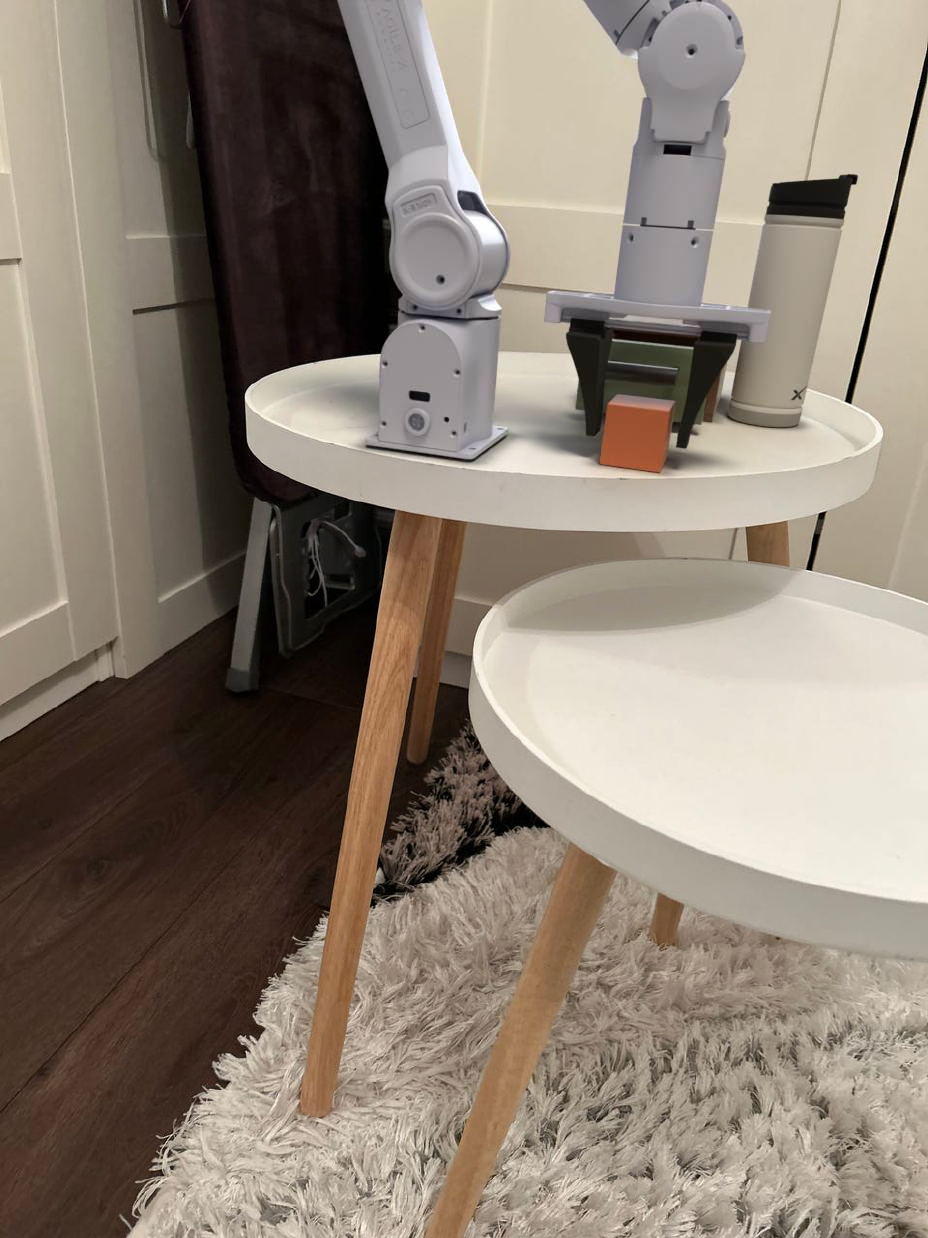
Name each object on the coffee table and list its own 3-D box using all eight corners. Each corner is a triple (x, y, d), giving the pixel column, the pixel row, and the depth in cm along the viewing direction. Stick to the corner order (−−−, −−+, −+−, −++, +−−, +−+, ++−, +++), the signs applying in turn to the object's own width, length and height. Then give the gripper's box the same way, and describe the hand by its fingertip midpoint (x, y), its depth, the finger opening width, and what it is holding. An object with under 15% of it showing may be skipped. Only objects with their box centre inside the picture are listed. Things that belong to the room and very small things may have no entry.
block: (659, 472, 60) (669, 411, 58) (599, 464, 61) (607, 403, 59) (666, 459, 64) (676, 400, 62) (609, 451, 65) (616, 393, 63)
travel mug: (812, 430, 77) (871, 173, 68) (737, 425, 76) (787, 167, 68) (790, 415, 82) (841, 176, 74) (719, 410, 82) (763, 171, 74)
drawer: (696, 436, 67) (710, 358, 65) (563, 419, 70) (571, 343, 67) (711, 399, 82) (722, 335, 80) (601, 386, 85) (608, 323, 82)
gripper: (785, 235, 58) (745, 441, 63) (569, 221, 61) (549, 416, 67) (786, 236, 52) (741, 463, 57) (546, 219, 55) (526, 434, 61)
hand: (636, 439), depth 62 cm, fingers open, 6 cm apart
